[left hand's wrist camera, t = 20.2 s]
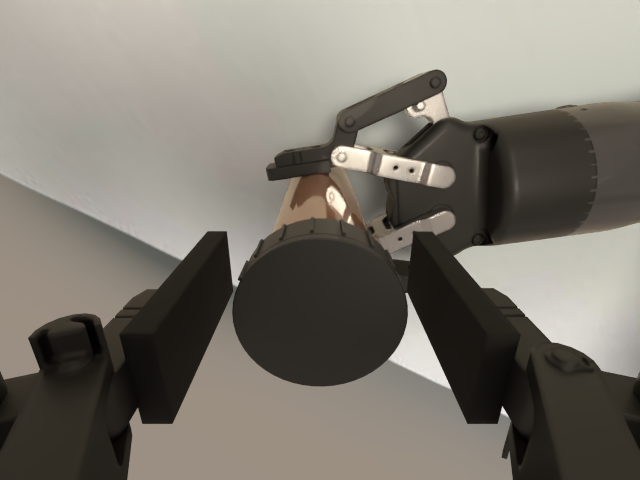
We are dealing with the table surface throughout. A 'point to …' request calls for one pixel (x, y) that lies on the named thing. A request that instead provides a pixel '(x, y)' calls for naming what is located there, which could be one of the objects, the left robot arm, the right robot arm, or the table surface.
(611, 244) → the table surface
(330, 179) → the bottle
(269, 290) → the lid
